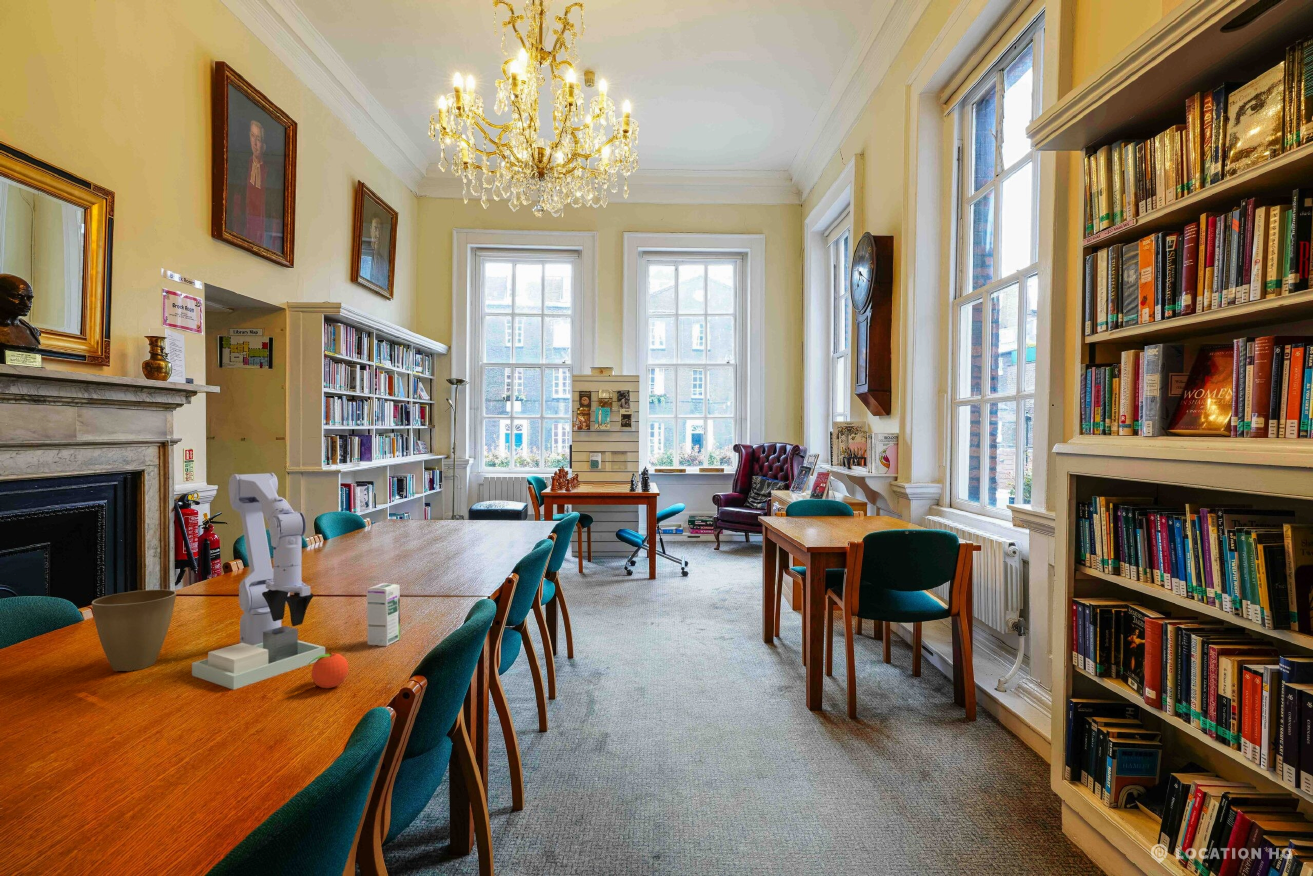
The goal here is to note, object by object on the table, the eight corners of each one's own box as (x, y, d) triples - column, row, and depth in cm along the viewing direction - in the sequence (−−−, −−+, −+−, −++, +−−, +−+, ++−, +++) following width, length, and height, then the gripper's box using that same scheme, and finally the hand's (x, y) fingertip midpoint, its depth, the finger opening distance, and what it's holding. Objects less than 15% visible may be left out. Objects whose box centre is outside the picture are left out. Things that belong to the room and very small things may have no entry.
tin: (263, 662, 143) (263, 631, 143) (284, 655, 148) (284, 625, 148) (276, 666, 141) (276, 635, 141) (297, 659, 146) (297, 629, 146)
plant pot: (158, 674, 138) (158, 602, 138) (76, 681, 134) (76, 607, 134) (187, 652, 152) (187, 586, 152) (114, 658, 148) (114, 590, 148)
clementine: (304, 697, 126) (304, 662, 126) (306, 685, 132) (306, 651, 132) (348, 690, 130) (349, 655, 130) (348, 678, 136) (348, 645, 136)
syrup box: (387, 646, 156) (387, 588, 156) (366, 645, 158) (366, 587, 158) (400, 639, 162) (400, 583, 162) (380, 637, 163) (380, 582, 163)
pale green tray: (192, 679, 136) (192, 662, 136) (283, 651, 153) (283, 636, 153) (233, 693, 128) (233, 676, 128) (325, 662, 146) (325, 647, 146)
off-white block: (208, 675, 136) (208, 652, 136) (242, 664, 142) (242, 642, 142) (234, 683, 131) (234, 660, 131) (268, 672, 137) (268, 649, 137)
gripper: (252, 564, 147) (252, 622, 147) (288, 571, 140) (288, 632, 140) (282, 559, 153) (282, 614, 153) (319, 565, 146) (319, 623, 146)
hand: (287, 622), depth 147 cm, fingers open, 7 cm apart
